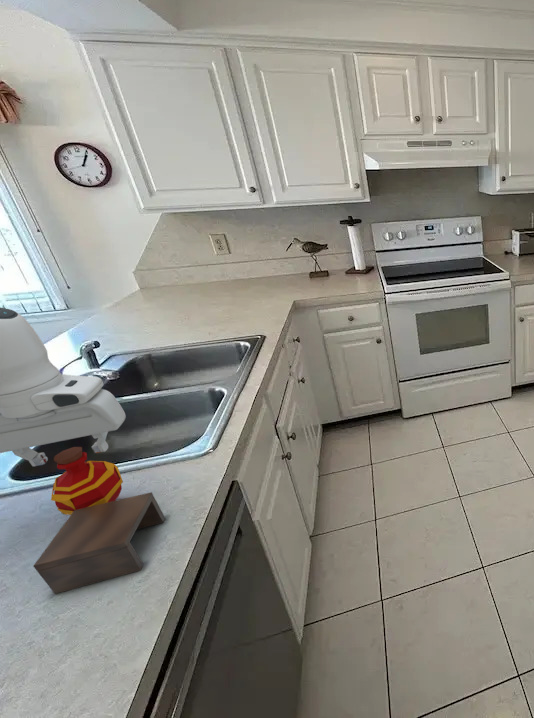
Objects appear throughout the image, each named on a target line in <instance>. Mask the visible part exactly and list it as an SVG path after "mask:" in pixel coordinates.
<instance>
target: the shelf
mask: <svg viewBox="0 0 534 718" xmlns="http://www.w3.org/2000/svg"><path fill="white" fill-rule="evenodd" d="M165 520H166V517H165V515H164V513H163V510H162V509H161V507H160V504H159V503H158V502H157V499H156V498H155V496H154V494H153V492H147V493H142V494H138V495H134V496H129V497H125V498H121V499H116V500H115V501H112V502H107V503H103V504H99V505H95V506H90V507H86V508H82V509H77V510H74V511H73V513H72V514H71V515H69V516H68V517H67V519H66V520H65V522H64V524H63V525H62V526H61V528H60V529H59V530H58V532H57V533H56V534H55V536H54V537H53V538H52V540H51V541H50V542H49V544H48V545H47V546H46V548H45V549H44V550H43V552H41V554H40V556H39V557H38V559H37V560H36V561H35V563H34V564H33V568H34V570H36V572H37V573H38V574H39V575H40V577H41V578H42V580H43V581H44V582H45V584H46V585H47V586H48V588H50V590H51V591H52V592H53V594H55V595H56V594H59V593H60V594H61V593H63V592H66V591H67V592H68V591H70V590H74V589H77V588H81V587H85V586H88V585H93V584H96V583H100V582H102V581H106V580H110V579H114V578H118V577H122V576H125V575H128V574H131V573H135V572H139V571H142V568H143V567H144V563H143V561H142V560H141V558H140V556H139V555H138V553H137V552H136V550H135V548H134V546H133V545H132V543H131V540H132V538H133V537H134V535H135V533H136V531H137V530H140V529H144V528H148V527H151V526H155V525H156V526H157V525H159V524H163V523H164V522H165Z"/></svg>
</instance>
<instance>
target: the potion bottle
mask: <svg viewBox="0 0 534 718" xmlns="http://www.w3.org/2000/svg"><path fill="white" fill-rule="evenodd" d="M53 462H55V463H57V464H56V469H58V470H65V471H64V472H63V473H62V474H60V475H58V476H57V477H56V478H55V479H54V482H53V485H52V491H51V496H50V501H51V502H52V501H53V502H54V504H55V507H56V508H57V511H59V512H60V513H61V514H62V515H64V516H66V515H67V516H71V514H72V513H73V511H74V510H77V509H82V508H86V507H90V506H95V505H99V504H103V503H107V502H112V501H116V500H118V498H119V497H120V494H121V492H122V489H123V486H122V484H123V483H124V481H123V478H122V475H121V472H120V469H119V467H118V466H117V465H116V464H115V463H113V462H109V461H106V460H88V453H87V452H86V451H83V447H82V446H73V447H70V448H67V449H63V450H62V451H60V452H59V453H57V454H56V455H54V456H53Z"/></svg>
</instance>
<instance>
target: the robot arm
mask: <svg viewBox="0 0 534 718" xmlns="http://www.w3.org/2000/svg"><path fill="white" fill-rule="evenodd" d="M103 387H104V381H103V379H102V378H100V377H98V376H87V375H72V374H66V373H65V374H63V373H61V372H60V370H59V369H58V368H57V366H56V365H54V364H53V363H52V362H51V360H50V359H49V356H48V350H47V347H46V346H45V344H44V343H43V341H42V340H41V338H40V336H39V335H38V334H37V332H36V331H35V329H34V327H33V326H32V325H31V324H30V323H29V322H28V320H27V319H26V318H25V317H24V316H22V314H20V313H19V312H17V311H15V310H13V309H10V308H6V307H0V454H4V453H8V452H12V453H13V455H14V456H16V457H19V458H21V459H23V460H26V461H28V462H29V464H30V465H31V466H32V467H38V466H43V465H45V464H46V463H47V462H48V460H49V458H48V456H46V453H45V452H38V451H36V450H34V449H32V448H34V447H39V446H43V445H44V446H45V445H49V444H52V443H53V444H54V443H58V442H64V441H69V440H73V439H78V438H79V439H80V438H82V437H83V438H84V437H87V436H91V437H92V438H93V439H97V440H96V441H94V443H93V444H92V446H91V449H92V451H93V453H94V454H100V453H105V452H106V451H108V450H109V444H108V443H107V441H106V440H107V437H108V433H109V432H113V431H114V432H115V431H117V430H118V429H119V428H120V427H122V425H123V423H124V422H125V420H126V418H127V417H126V416H127V415H126V413H125V411H124V408H123V407H122V405H121V404H120V402H119V400H118V399H117V398H116V397H115V395H114V394H113V393H111V391H109V390H107V389H104V388H103Z"/></svg>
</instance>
